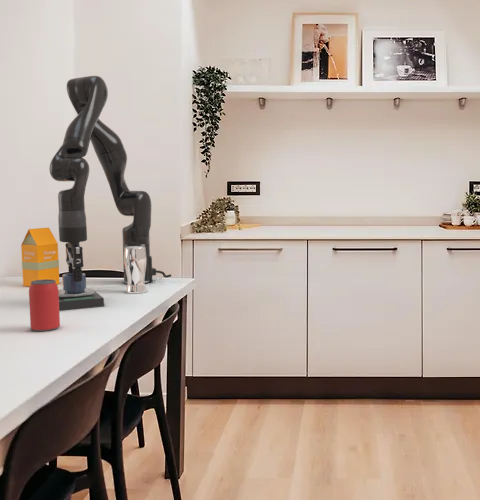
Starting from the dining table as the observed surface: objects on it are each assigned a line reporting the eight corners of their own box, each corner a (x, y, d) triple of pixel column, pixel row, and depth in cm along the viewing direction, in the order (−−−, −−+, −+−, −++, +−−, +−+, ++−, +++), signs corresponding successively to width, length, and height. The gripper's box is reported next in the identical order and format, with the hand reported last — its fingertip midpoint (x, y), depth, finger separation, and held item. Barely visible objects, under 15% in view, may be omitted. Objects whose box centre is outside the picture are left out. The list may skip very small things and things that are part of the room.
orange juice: (22, 285, 214) (19, 228, 212) (44, 282, 222) (41, 227, 220) (39, 287, 211) (36, 229, 209) (60, 283, 219) (57, 227, 217)
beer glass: (151, 290, 206) (150, 246, 205) (138, 294, 200) (136, 248, 198) (134, 289, 208) (133, 245, 207) (120, 292, 202) (119, 247, 200)
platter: (91, 289, 191) (91, 286, 191) (98, 294, 182) (97, 292, 182) (52, 292, 185) (52, 289, 185) (57, 298, 176) (57, 295, 176)
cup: (83, 288, 188) (83, 272, 187) (87, 291, 182) (87, 275, 182) (61, 290, 184) (61, 274, 184) (65, 293, 179) (64, 276, 179)
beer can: (51, 324, 157) (48, 278, 156) (65, 328, 153) (63, 280, 152) (25, 329, 152) (22, 281, 150) (39, 333, 148) (37, 284, 147)
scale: (94, 298, 193) (93, 289, 192) (104, 306, 180) (103, 296, 180) (48, 302, 186) (48, 293, 185) (55, 311, 173) (55, 301, 173)
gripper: (90, 226, 177) (93, 281, 179) (81, 223, 189) (84, 275, 191) (62, 227, 173) (65, 284, 175) (55, 224, 185) (58, 277, 187)
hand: (75, 279), depth 183 cm, fingers open, 8 cm apart
